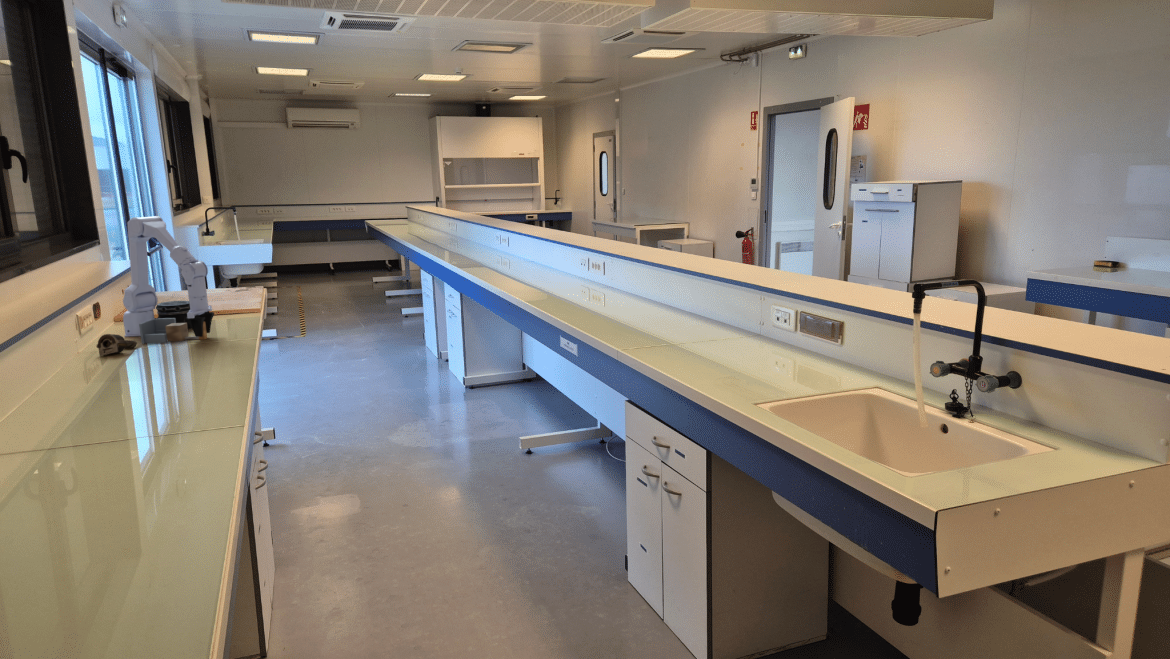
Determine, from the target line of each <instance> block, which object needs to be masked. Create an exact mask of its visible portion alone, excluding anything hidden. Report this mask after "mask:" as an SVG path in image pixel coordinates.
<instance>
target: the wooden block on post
mask: <svg viewBox="0 0 1170 659" xmlns="http://www.w3.org/2000/svg"><path fill="white" fill-rule="evenodd" d="M165 327H166V334H167V342H183V341H185V340H200V341H201V340H206V339H208V333H207V332H206V324H205V322H203V336H202V337H196V336H190V334H189V329H188V327H187V323H172V324H169V325H167V326H165Z"/></svg>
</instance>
